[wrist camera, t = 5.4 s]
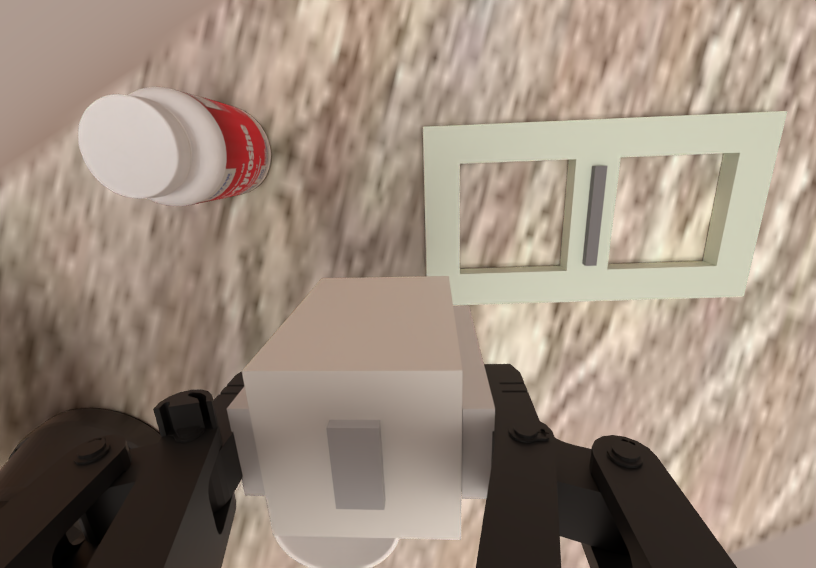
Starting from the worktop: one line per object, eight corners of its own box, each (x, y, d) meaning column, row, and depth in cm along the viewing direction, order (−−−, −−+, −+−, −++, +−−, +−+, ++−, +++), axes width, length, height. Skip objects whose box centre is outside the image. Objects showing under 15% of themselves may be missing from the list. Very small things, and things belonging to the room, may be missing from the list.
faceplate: (427, 299, 32) (427, 308, 30) (422, 128, 28) (423, 126, 26) (728, 290, 31) (749, 299, 29) (768, 113, 27) (795, 110, 25)
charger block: (333, 387, 17) (268, 545, 10) (321, 278, 16) (235, 378, 9) (449, 387, 17) (461, 550, 10) (448, 276, 15) (463, 377, 8)
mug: (455, 426, 36) (470, 533, 26) (340, 472, 38) (313, 589, 28) (412, 350, 34) (411, 434, 24) (293, 403, 36) (244, 502, 25)
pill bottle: (260, 206, 30) (177, 234, 20) (181, 175, 30) (52, 186, 19) (283, 125, 28) (206, 108, 18) (200, 90, 28) (68, 51, 17)
